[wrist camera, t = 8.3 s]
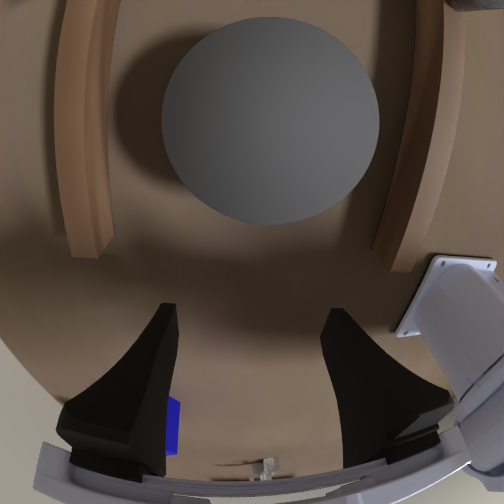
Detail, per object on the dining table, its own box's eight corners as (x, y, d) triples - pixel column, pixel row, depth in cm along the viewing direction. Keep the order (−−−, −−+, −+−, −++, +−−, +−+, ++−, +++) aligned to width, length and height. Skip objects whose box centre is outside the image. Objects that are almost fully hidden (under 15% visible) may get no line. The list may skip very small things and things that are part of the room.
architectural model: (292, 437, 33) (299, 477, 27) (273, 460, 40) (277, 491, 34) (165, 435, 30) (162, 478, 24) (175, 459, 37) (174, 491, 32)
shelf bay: (434, -29, 6) (458, -36, 4) (391, 249, 16) (411, 272, 14) (120, -79, 4) (106, -97, 2) (90, 233, 14) (71, 257, 12)
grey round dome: (355, 57, 10) (392, 49, 7) (328, 202, 14) (354, 232, 11) (187, 31, 9) (173, 10, 6) (175, 189, 13) (159, 218, 10)
